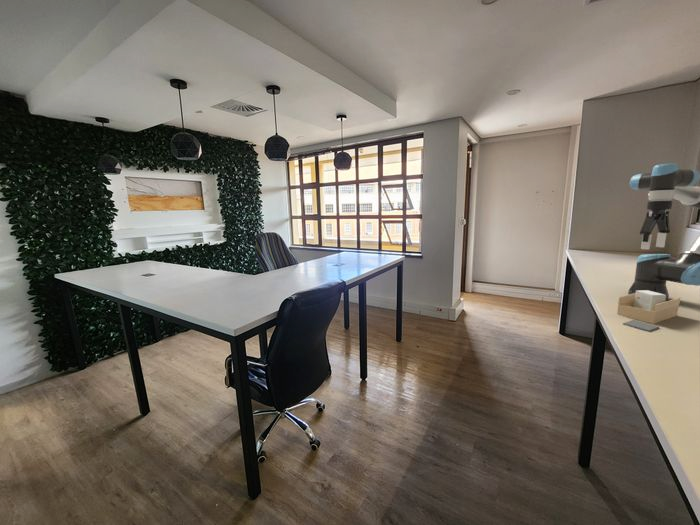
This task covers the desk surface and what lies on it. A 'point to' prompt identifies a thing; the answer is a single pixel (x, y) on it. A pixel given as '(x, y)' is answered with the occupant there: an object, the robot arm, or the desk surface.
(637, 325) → the mat
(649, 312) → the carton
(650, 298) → the small box
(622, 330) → the desk surface
